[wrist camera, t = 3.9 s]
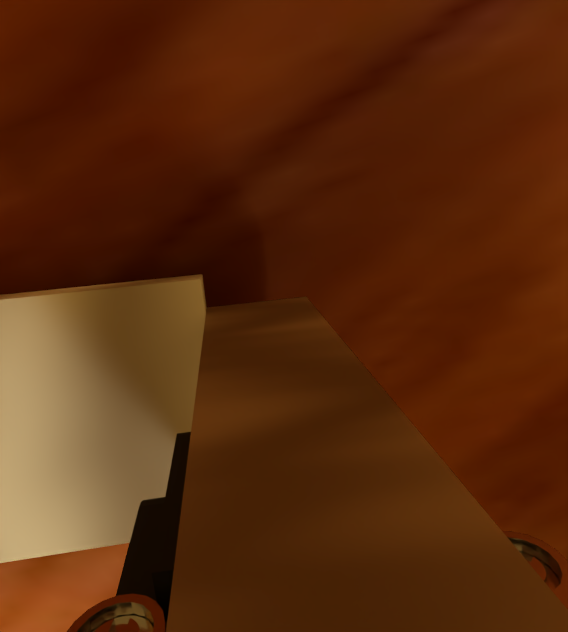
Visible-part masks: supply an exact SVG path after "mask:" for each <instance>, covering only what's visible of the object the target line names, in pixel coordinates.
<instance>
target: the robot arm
mask: <svg viewBox="0 0 568 632" xmlns="http://www.w3.org/2000/svg"><path fill="white" fill-rule="evenodd" d="M190 436H191V432H185V433H177V435H176V440H175V446H174V451H173V457H172V462H171V468H170V473H169V479H168V484H167V490H166V495H165V497H161V498H154V499H147V500H143V501H141V503H140V506H139V509H138V513H137V517H136V521H135V524H134V528H133V532H132V536H131V540H130V544H129V548H128V551H127V555H126V559H125V563H124V567H123V571H122V575H121V578H120V582H119V586H118V590H117V594H116V596H115V597H112V598H109V599H107V600H104V601H102V602H100V603H98V604H97V605H95V606H93V607H92V608H90V609H88V610H87V611H86V612H85V613H84V614H82V615H81V616H80V617H79V618H78V619H77V620H76V621H74V623H73V624H72V625H71V627H70V628H69V629H68V631H67V632H166V627H167V619H168V611H169V603H170V595H171V587H172V579H173V571H174V563H175V556H176V548H177V540H178V532H179V524H180V516H181V508H182V500H183V492H184V484H185V476H186V468H187V460H188V452H189V444H190ZM502 532H503V533H504V534H505V535H506V536H507V538H508V539H509V540H510V541H511V542H512V544H513V545H514V546H515V547H516V548H517V550H518V551H519V552H520V553H521V554H522V556H523V557H524V558H525V559H526V560H527V562H528V563H529V564H530V565H531V566H532V568H533V569H534V570H535V571H536V572H537V574H538V575H539V576H540V577H541V578H542V580H543V581H544V582H545V583H546V584H547V585H548V587H549V588H550V589H551V590H552V591H553V593H554V594H555V595H556V596H557V597H558V599H559V600H560V601H561V602H562V603H563V605H564V606H565V607H566V608H567V609H568V561H567V560H566V559H565V558H564V557H563V556H562V555H561V554H560V553H559V552H558V551H557V550H556V549H554V548H553V547H551V546H550V545H548V544H546V543H545V542H543V541H542V540H539V539H537V538H534V537H532V536H529V535H527V534H522V533H517V532H512V531H502Z"/></svg>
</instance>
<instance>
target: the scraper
mask: <svg viewBox="0 0 568 632" xmlns="http://www.w3.org/2000/svg"><path fill="white" fill-rule="evenodd" d="M185 432H191V436H190V444H189V452H188V460H187V468H186V476H185V484H184V492H183V500H182V508H181V516H180V524H179V532H178V540H177V548H176V556H175V563H174V571H173V579H172V587H171V595H170V603H169V611H168V619H167V627H166V632H568V609H567V608H566V607H565V606H564V605H563V603H562V602H561V601H560V600H559V599H558V597H557V596H556V595H555V594H554V593H553V591H552V590H551V589H550V588H549V587H548V585H547V584H546V583H545V582H544V581H543V580H542V578H541V577H540V576H539V575H538V574H537V572H536V571H535V570H534V569H533V568H532V566H531V565H530V564H529V563H528V562H527V560H526V559H525V558H524V557H523V556H522V554H521V553H520V552H519V551H518V550H517V548H516V547H515V546H514V545H513V544H512V542H511V541H510V540H509V539H508V538H507V536H506V535H505V534H504V533H503V532H502V530H501V529H500V528H499V527H498V526H497V524H496V523H495V522H494V521H493V520H492V518H491V517H490V516H489V515H488V514H487V512H486V511H485V510H484V509H483V508H482V506H481V505H480V504H479V503H478V502H477V500H476V499H475V498H474V497H473V496H472V494H471V493H470V492H469V491H468V490H467V488H466V487H465V486H464V485H463V484H462V482H461V481H460V480H459V479H458V478H457V476H456V475H455V474H454V473H453V472H452V471H451V469H450V468H449V467H448V466H447V465H446V463H445V462H444V461H443V460H442V459H441V457H440V456H439V455H438V454H437V453H436V451H435V450H434V449H433V448H432V447H431V445H430V444H429V443H428V442H427V441H426V439H425V438H424V437H423V436H422V435H421V433H420V432H419V431H418V430H417V429H416V427H415V426H414V425H413V424H412V423H411V421H410V420H409V419H408V418H407V417H406V415H405V414H404V413H403V412H402V411H401V409H400V408H399V407H398V406H397V405H396V403H395V402H394V401H393V400H392V399H391V397H390V396H389V395H388V394H387V393H386V391H385V390H384V389H383V388H382V387H381V385H380V384H379V383H378V382H377V381H376V379H375V378H374V377H373V376H372V375H371V373H370V372H369V371H368V370H367V369H366V368H365V366H364V365H363V364H362V363H361V362H360V360H359V359H358V358H357V357H356V356H355V354H354V353H353V352H352V351H351V350H350V348H349V347H348V346H347V345H346V344H345V342H344V341H343V340H342V339H341V338H340V336H339V335H338V334H337V333H336V332H335V330H334V329H333V328H332V327H331V326H330V324H329V323H328V322H327V321H326V320H325V318H324V317H323V316H322V315H321V314H320V312H319V311H318V310H317V309H316V308H315V306H314V305H313V304H312V303H311V302H310V300H309V299H308V298H307V297H297V298H288V299H279V300H270V301H261V302H252V303H243V304H234V305H225V306H216V307H206V299H205V291H204V283H203V276H202V274H199V275H190V276H180V277H170V278H160V279H151V280H141V281H131V282H121V283H112V284H102V285H92V286H82V287H73V288H63V289H53V290H44V291H34V292H24V293H14V294H5V295H0V563H3V562H10V561H16V560H22V559H29V558H35V557H41V556H48V555H54V554H60V553H67V552H73V551H79V550H86V549H92V548H98V547H105V546H111V545H117V544H124V543H130V540H131V536H132V532H133V528H134V524H135V521H136V517H137V513H138V509H139V506H140V503H141V501H143V500H147V499H154V498H161V497H165V495H166V490H167V484H168V479H169V473H170V468H171V462H172V457H173V451H174V446H175V440H176V435H177V433H185Z"/></svg>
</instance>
